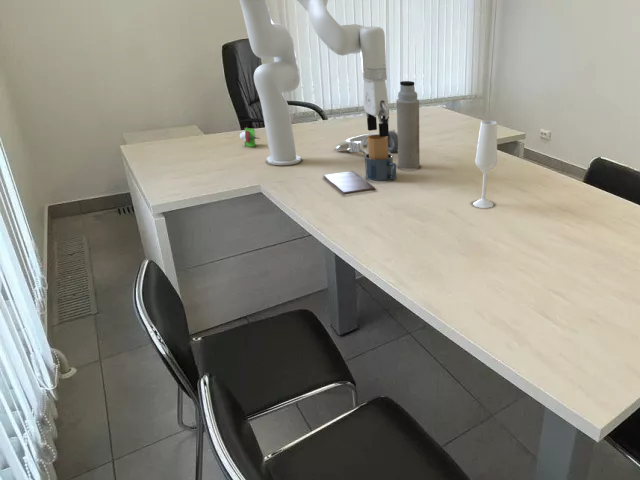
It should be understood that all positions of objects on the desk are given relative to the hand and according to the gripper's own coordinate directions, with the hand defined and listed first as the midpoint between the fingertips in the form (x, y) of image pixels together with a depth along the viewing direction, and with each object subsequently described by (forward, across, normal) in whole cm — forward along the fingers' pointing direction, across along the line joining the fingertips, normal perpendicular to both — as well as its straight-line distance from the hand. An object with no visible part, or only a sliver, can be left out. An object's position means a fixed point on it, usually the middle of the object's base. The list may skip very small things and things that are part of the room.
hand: (378, 133), depth 179 cm
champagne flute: (+16, +38, +19) cm, 45 cm away
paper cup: (+14, 0, 0) cm, 14 cm away
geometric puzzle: (+14, -60, -31) cm, 69 cm away
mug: (+15, +1, 0) cm, 15 cm away
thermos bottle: (+15, -8, +15) cm, 23 cm away
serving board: (+15, +2, -13) cm, 20 cm away
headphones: (+15, -34, +11) cm, 39 cm away
